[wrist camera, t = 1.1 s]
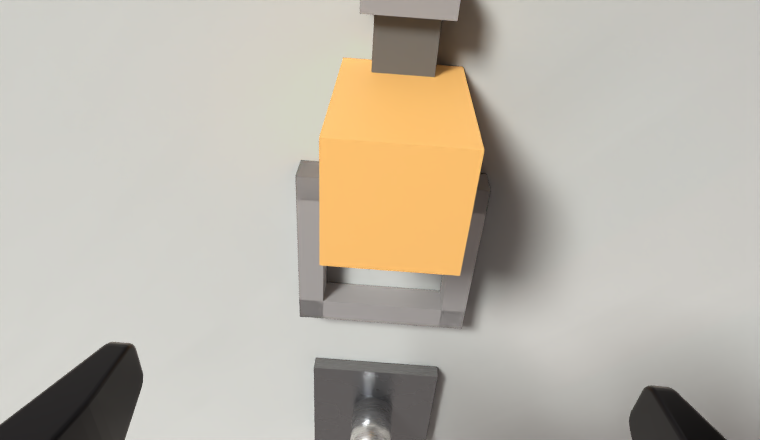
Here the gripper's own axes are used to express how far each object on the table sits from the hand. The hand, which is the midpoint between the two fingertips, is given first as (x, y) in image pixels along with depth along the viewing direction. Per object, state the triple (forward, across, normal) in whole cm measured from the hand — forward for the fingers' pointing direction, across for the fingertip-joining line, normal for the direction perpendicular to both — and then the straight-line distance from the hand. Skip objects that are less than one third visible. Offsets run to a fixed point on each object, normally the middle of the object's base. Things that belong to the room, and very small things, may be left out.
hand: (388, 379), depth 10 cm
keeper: (+11, 0, +16) cm, 20 cm away
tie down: (+12, 0, 0) cm, 12 cm away
